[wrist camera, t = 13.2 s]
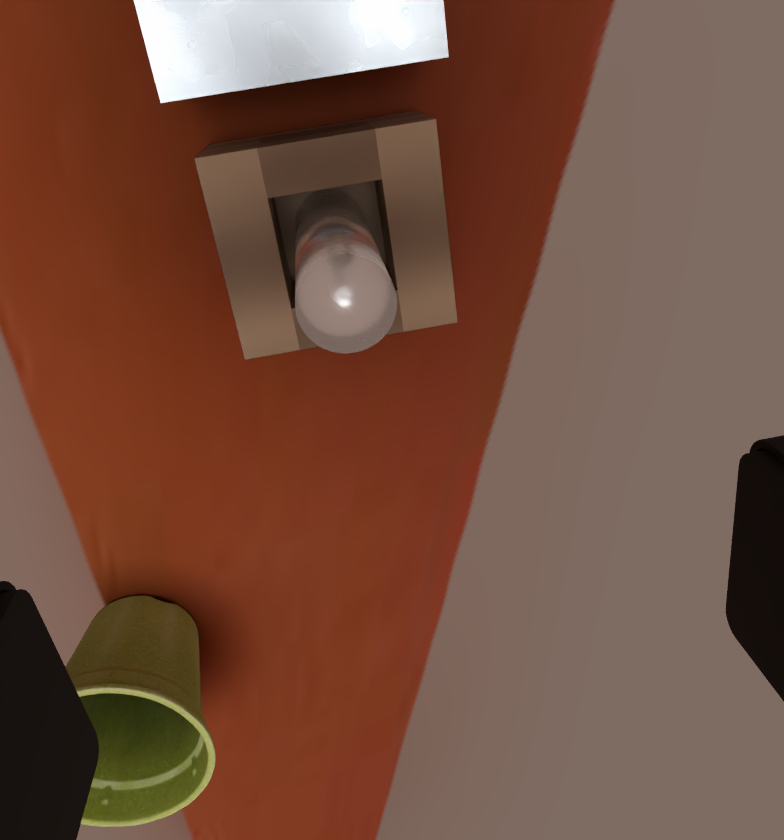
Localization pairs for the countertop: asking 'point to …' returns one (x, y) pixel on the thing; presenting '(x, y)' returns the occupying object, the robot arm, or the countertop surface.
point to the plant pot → (143, 711)
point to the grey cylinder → (340, 275)
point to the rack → (312, 171)
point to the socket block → (281, 40)
